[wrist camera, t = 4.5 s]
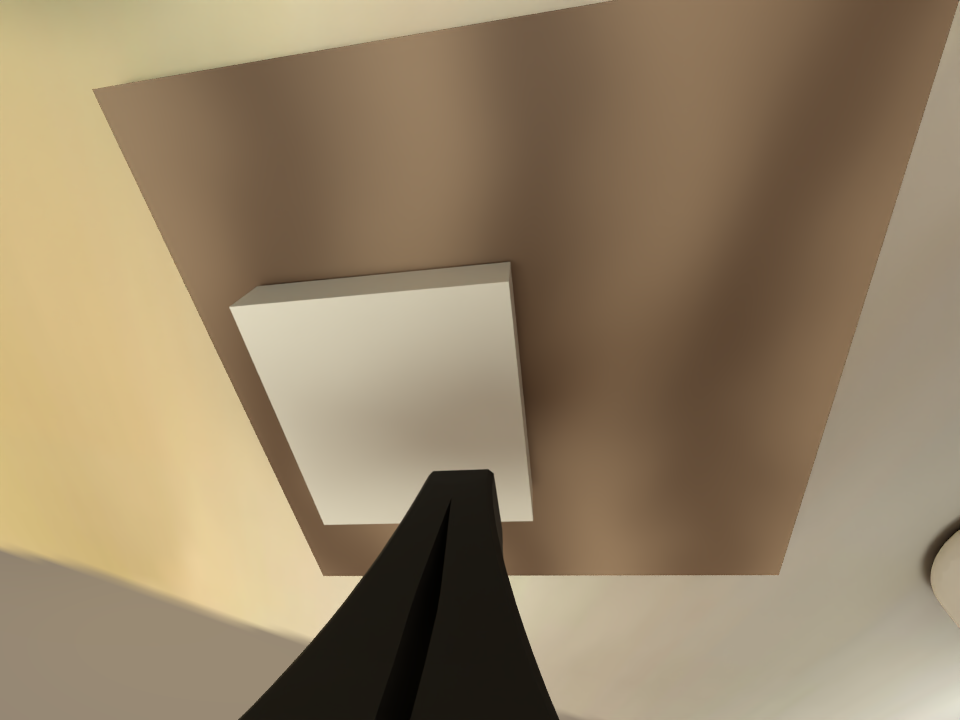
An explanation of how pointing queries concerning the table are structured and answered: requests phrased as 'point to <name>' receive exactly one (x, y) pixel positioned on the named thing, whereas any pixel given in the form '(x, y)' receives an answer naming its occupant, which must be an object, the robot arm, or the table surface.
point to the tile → (394, 385)
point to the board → (576, 239)
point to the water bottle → (948, 577)
